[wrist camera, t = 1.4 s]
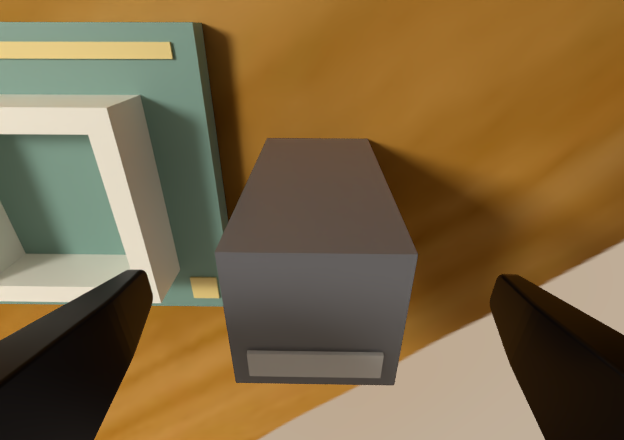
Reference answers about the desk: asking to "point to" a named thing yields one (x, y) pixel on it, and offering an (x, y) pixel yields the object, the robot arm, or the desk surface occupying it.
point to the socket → (120, 190)
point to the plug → (316, 267)
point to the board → (79, 154)
